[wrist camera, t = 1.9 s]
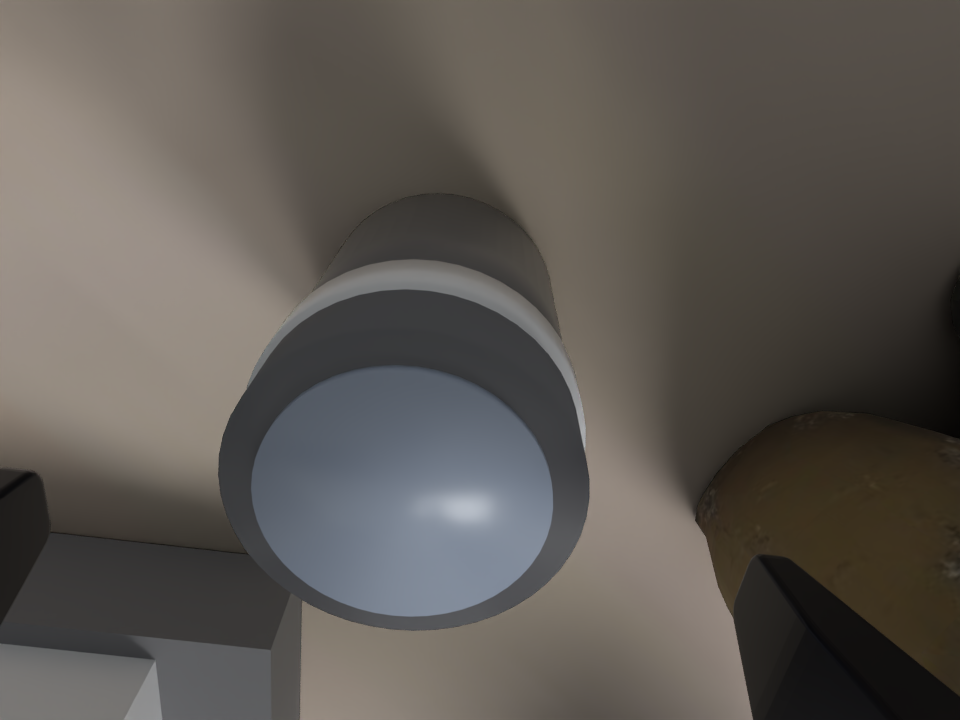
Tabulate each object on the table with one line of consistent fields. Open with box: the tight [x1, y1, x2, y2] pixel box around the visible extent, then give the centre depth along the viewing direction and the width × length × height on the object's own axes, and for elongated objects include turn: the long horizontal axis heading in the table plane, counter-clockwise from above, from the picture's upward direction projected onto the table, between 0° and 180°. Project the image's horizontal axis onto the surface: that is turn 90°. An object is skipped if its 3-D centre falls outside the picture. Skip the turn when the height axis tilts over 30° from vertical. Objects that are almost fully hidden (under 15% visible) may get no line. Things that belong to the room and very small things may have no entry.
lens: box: [218, 193, 589, 631], centre depth 12 cm, size 5×5×7 cm
